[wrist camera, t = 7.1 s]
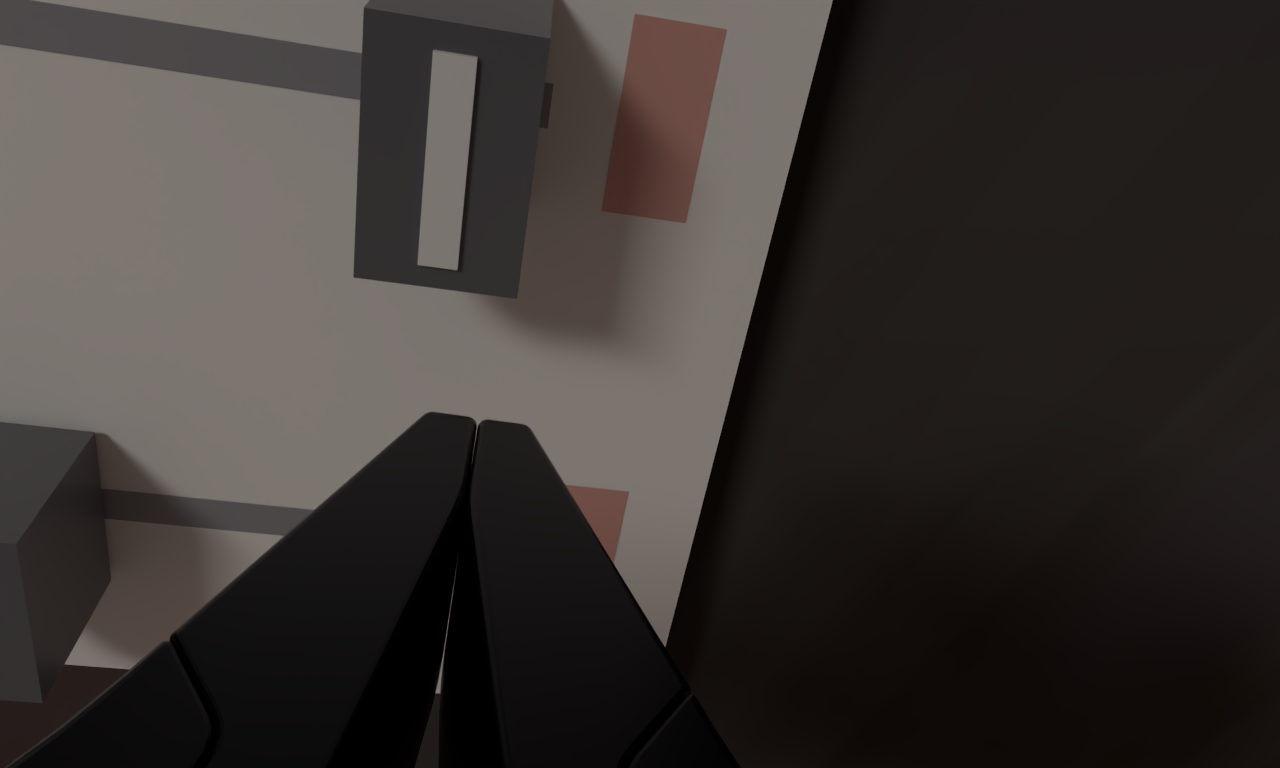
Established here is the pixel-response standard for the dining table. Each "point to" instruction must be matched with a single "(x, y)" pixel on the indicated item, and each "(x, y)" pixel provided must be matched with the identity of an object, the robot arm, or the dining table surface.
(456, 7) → the block
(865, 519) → the dining table surface
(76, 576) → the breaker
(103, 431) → the switch panel
